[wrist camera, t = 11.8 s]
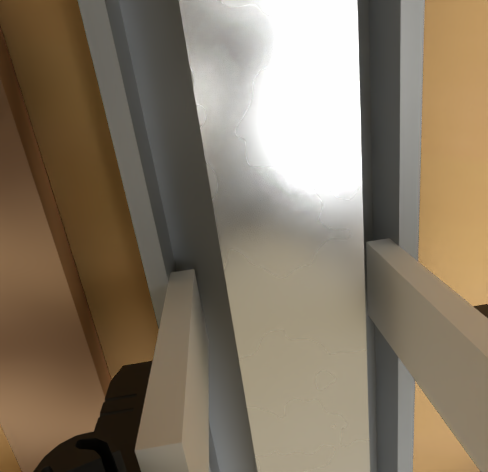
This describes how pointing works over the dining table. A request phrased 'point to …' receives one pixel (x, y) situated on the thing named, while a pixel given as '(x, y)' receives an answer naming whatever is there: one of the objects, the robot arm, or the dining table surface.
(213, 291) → the tray
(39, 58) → the dining table surface
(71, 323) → the rack
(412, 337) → the robot arm
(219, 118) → the rail
